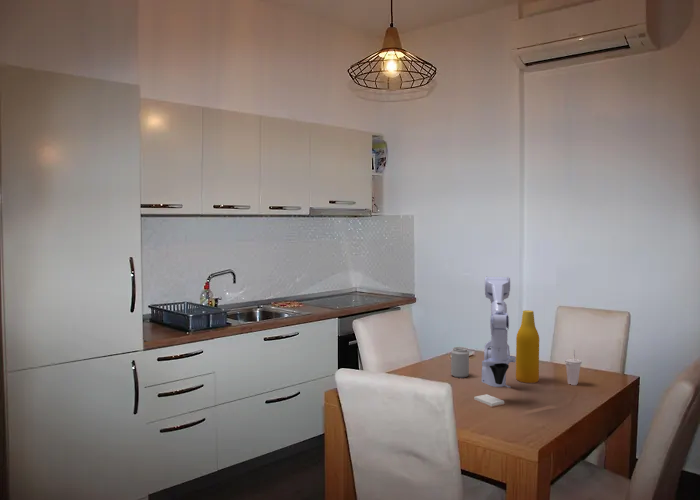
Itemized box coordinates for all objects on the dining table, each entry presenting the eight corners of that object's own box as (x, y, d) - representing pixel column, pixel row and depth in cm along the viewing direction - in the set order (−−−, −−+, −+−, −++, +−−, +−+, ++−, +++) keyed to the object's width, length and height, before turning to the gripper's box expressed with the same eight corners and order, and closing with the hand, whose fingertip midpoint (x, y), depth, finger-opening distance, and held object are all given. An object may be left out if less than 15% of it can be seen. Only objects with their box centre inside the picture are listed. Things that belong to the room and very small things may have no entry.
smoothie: (570, 386, 230) (571, 352, 229) (561, 382, 236) (561, 348, 236) (584, 385, 232) (585, 351, 231) (574, 381, 238) (575, 347, 237)
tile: (486, 399, 213) (474, 401, 210) (486, 394, 213) (474, 396, 210) (504, 405, 205) (491, 408, 202) (504, 400, 205) (491, 403, 202)
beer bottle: (529, 376, 246) (530, 308, 244) (543, 382, 237) (544, 312, 235) (511, 378, 242) (511, 310, 241) (524, 384, 234) (525, 313, 232)
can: (456, 372, 252) (456, 345, 251) (472, 375, 247) (472, 347, 246) (447, 376, 246) (448, 348, 245) (463, 379, 241) (463, 351, 241)
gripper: (491, 351, 203) (491, 389, 204) (521, 346, 210) (521, 383, 211) (478, 347, 209) (477, 384, 210) (508, 343, 216) (507, 378, 217)
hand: (498, 383), depth 211 cm, fingers closed
